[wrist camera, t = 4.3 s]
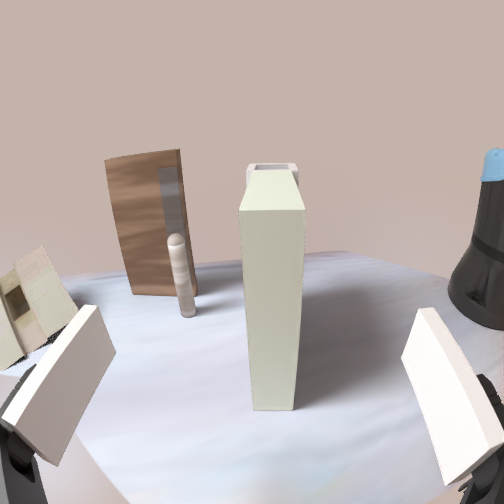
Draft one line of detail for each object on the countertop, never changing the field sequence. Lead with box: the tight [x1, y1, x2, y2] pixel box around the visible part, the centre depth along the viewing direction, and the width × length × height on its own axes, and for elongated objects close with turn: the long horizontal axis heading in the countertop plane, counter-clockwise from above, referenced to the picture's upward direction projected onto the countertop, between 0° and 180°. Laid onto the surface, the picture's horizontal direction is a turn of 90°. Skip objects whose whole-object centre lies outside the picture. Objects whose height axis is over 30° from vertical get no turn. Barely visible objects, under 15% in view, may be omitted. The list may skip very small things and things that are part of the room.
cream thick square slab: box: [239, 163, 305, 411], centre depth 27 cm, size 17×5×18 cm, turn 176°
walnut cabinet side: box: [105, 149, 198, 318], centre depth 35 cm, size 6×11×20 cm, turn 86°
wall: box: [0, 246, 79, 371], centre depth 32 cm, size 16×9×15 cm
